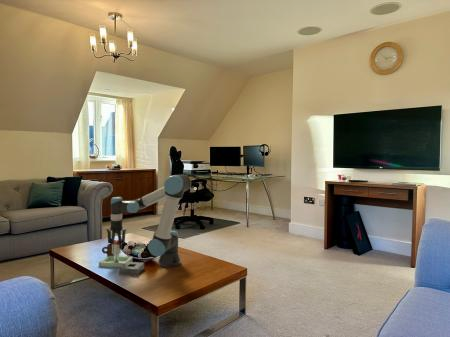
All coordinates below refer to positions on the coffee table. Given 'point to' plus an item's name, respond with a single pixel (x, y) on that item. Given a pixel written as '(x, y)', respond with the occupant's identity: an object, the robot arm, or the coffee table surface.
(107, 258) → the tray
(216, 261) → the coffee table surface
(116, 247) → the pin
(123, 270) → the block
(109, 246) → the mug
